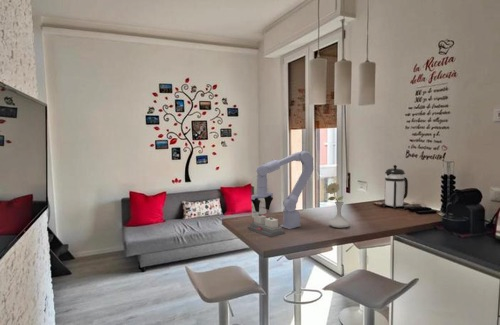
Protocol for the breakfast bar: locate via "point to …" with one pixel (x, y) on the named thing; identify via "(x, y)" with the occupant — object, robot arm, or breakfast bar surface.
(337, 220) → the flower in vase
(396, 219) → the breakfast bar surface
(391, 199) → the coffee press
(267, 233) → the grey compartment holder
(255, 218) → the plug
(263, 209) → the ink cartridge box
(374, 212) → the breakfast bar surface
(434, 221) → the breakfast bar surface
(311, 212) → the breakfast bar surface
